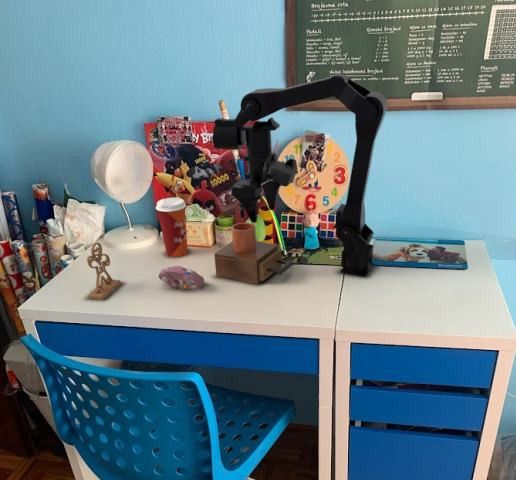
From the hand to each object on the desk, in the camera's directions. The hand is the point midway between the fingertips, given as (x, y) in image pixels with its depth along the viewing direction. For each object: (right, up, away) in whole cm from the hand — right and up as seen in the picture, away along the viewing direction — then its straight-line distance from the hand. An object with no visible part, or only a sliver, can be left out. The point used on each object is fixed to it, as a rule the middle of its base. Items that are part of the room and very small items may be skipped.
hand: (263, 216), depth 142 cm
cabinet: (-4, -13, +2) cm, 14 cm away
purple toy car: (-19, -18, -4) cm, 26 cm away
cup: (-4, -8, -1) cm, 9 cm away
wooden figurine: (-37, -19, -3) cm, 42 cm away
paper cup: (-23, -7, +15) cm, 28 cm away
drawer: (0, -13, 0) cm, 13 cm away
